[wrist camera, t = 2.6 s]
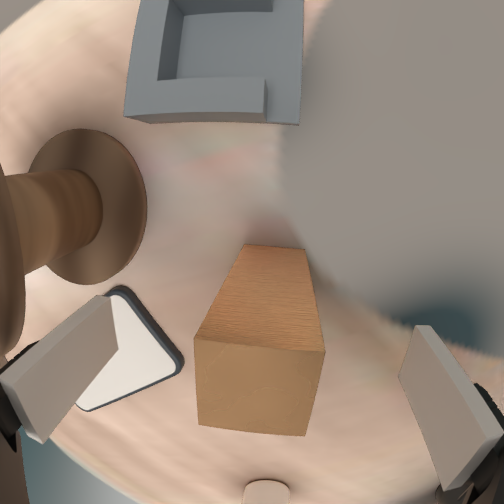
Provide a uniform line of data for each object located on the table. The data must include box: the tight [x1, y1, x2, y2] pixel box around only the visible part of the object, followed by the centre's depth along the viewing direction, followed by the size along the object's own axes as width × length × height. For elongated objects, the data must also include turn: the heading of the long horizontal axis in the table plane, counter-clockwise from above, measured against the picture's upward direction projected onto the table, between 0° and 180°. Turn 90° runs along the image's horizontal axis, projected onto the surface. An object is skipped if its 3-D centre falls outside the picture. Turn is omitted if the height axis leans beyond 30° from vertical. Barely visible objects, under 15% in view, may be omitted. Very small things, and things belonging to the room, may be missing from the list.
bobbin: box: [0, 129, 147, 358], centre depth 15 cm, size 12×12×13 cm
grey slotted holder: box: [123, 0, 303, 126], centre depth 15 cm, size 10×10×4 cm
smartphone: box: [75, 286, 184, 412], centre depth 25 cm, size 9×2×16 cm
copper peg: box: [194, 244, 325, 436], centre depth 15 cm, size 4×4×12 cm
